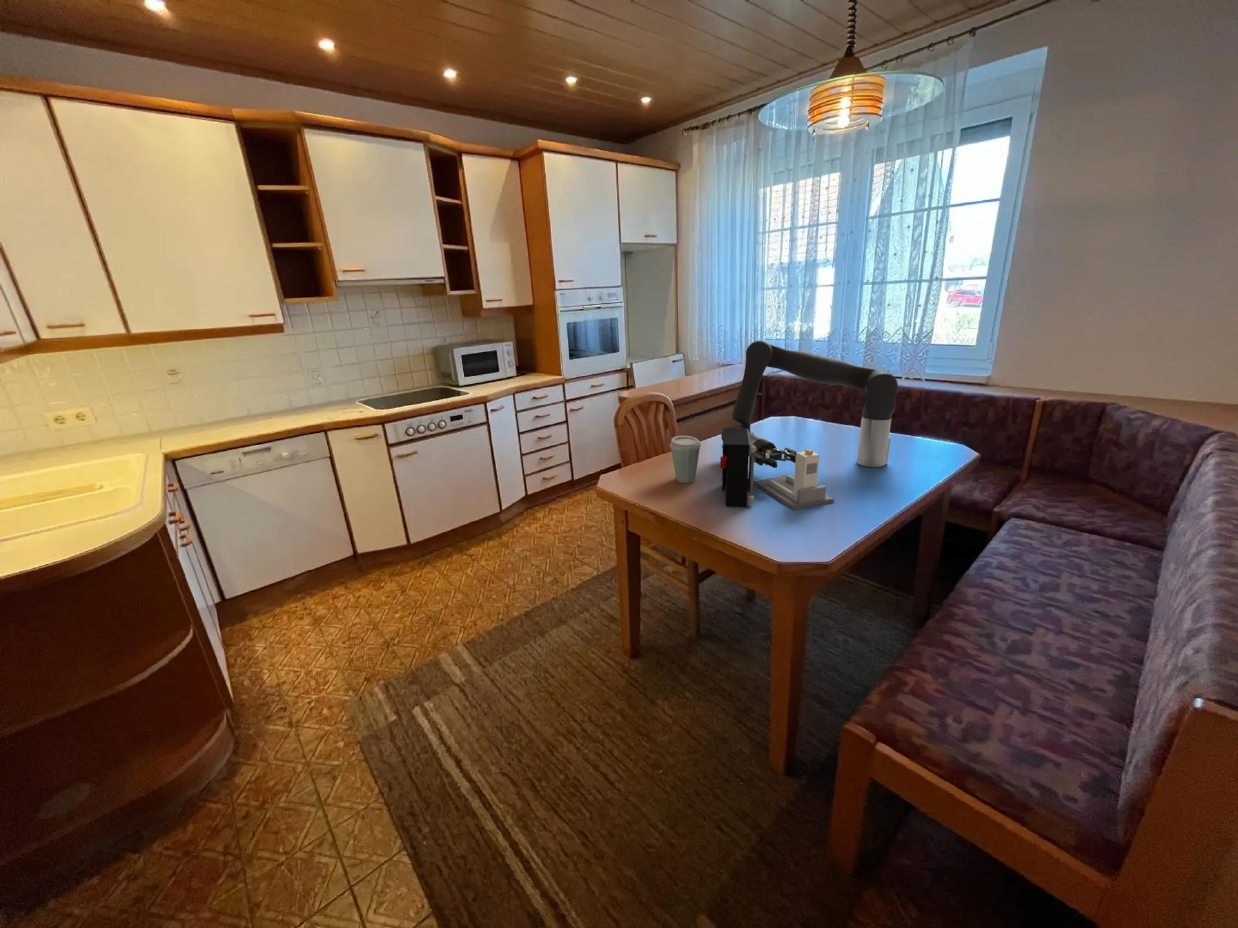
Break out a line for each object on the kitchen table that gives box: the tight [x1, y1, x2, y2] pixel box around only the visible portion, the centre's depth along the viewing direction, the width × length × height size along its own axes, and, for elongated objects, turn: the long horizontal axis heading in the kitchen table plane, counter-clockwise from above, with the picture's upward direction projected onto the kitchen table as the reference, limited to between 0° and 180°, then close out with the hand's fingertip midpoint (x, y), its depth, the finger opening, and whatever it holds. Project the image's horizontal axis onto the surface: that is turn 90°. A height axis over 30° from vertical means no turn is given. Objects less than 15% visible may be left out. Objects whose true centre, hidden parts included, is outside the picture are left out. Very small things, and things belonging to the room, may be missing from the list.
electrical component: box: [719, 427, 756, 509], centre depth 154 cm, size 18×10×20 cm, turn 168°
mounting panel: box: [753, 474, 835, 511], centre depth 156 cm, size 14×22×5 cm, turn 17°
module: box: [793, 448, 820, 494], centre depth 148 cm, size 5×5×15 cm
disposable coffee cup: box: [669, 435, 701, 484], centre depth 169 cm, size 11×11×15 cm
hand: (787, 463), depth 156 cm, fingers open, 8 cm apart
